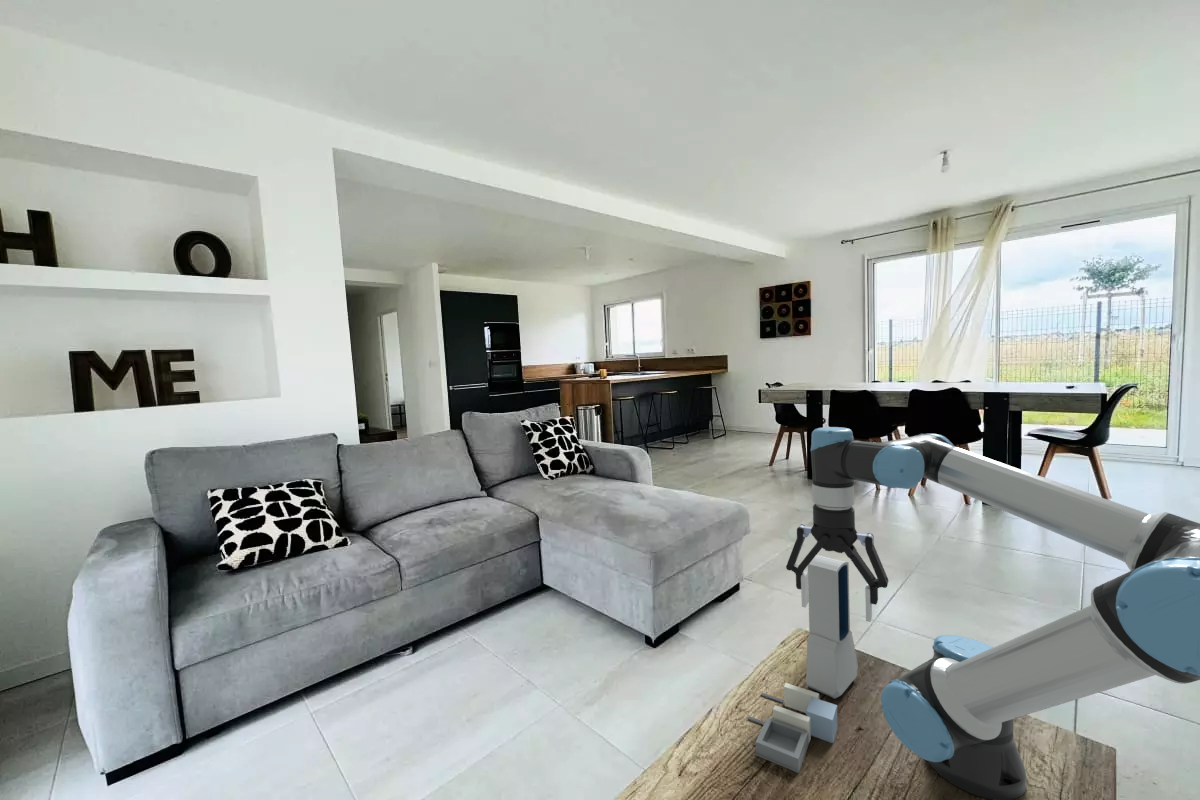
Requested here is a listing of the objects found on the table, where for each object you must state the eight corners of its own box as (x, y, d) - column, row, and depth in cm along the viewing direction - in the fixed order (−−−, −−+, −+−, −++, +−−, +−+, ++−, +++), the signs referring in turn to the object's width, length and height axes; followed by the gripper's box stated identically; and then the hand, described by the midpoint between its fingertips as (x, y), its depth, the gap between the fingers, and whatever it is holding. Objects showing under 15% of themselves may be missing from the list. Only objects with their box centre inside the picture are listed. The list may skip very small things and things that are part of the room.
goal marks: (783, 701, 110) (783, 700, 110) (771, 728, 102) (771, 727, 102) (761, 693, 113) (761, 692, 113) (747, 719, 105) (747, 718, 105)
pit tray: (808, 744, 97) (808, 731, 97) (798, 773, 91) (798, 758, 91) (768, 729, 102) (767, 716, 102) (756, 755, 96) (755, 741, 95)
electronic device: (827, 665, 122) (824, 548, 120) (859, 678, 117) (856, 556, 115) (805, 688, 114) (801, 564, 112) (838, 703, 108) (835, 573, 107)
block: (837, 728, 102) (837, 705, 101) (833, 743, 98) (832, 720, 97) (812, 719, 105) (811, 696, 104) (806, 733, 100) (806, 710, 100)
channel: (819, 713, 106) (819, 693, 106) (809, 743, 98) (808, 722, 98) (786, 701, 110) (785, 682, 110) (773, 729, 102) (772, 709, 102)
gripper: (903, 506, 93) (905, 617, 95) (777, 494, 107) (781, 591, 108) (901, 517, 87) (903, 635, 89) (768, 503, 101) (771, 605, 102)
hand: (836, 611), depth 98 cm, fingers open, 11 cm apart
